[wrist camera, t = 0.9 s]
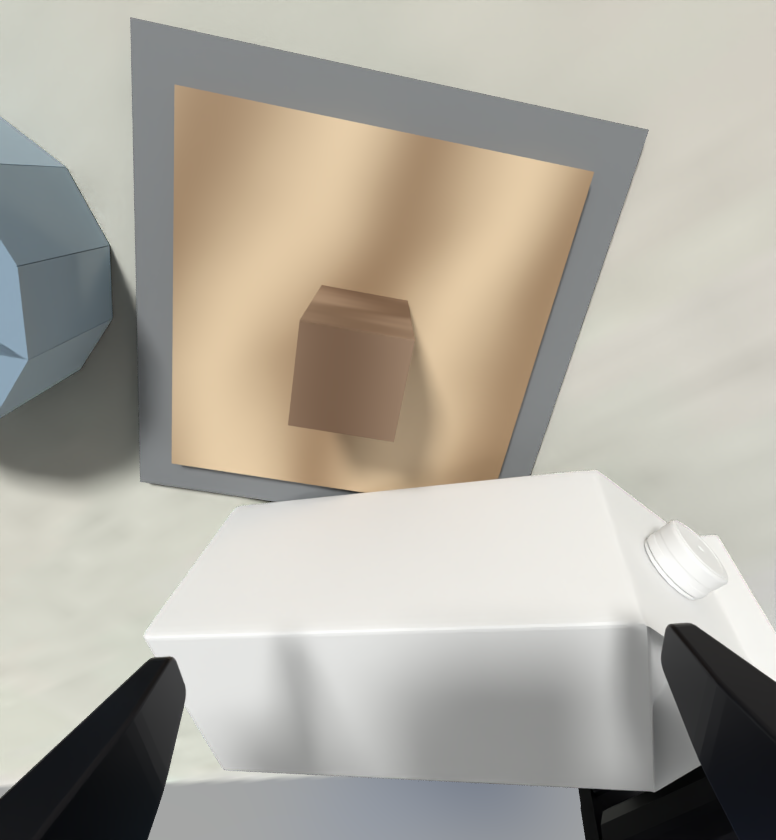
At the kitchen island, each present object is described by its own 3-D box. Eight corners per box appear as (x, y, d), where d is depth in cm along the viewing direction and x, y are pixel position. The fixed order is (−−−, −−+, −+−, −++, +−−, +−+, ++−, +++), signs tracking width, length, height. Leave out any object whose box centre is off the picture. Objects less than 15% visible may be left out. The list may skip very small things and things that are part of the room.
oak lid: (587, 172, 17) (675, 167, 12) (485, 503, 22) (514, 598, 17) (181, 87, 16) (84, 42, 11) (177, 456, 21) (110, 542, 16)
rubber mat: (641, 131, 17) (648, 129, 16) (506, 529, 23) (509, 536, 23) (137, 22, 15) (130, 17, 15) (145, 475, 22) (140, 481, 22)
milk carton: (284, 621, 26) (714, 606, 21) (218, 771, 19) (810, 801, 14) (233, 504, 23) (719, 453, 18) (135, 637, 16) (842, 616, 11)
